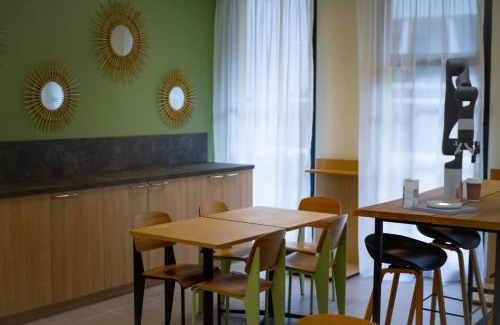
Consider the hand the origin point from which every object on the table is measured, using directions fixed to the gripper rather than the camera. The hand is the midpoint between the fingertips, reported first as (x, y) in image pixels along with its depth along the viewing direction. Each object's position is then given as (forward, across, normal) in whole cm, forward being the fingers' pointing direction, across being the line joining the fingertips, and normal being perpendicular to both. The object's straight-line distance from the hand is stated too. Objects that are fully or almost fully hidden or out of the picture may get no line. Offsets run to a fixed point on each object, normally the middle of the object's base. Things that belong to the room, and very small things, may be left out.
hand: (465, 162), depth 314 cm
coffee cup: (+22, +20, -38) cm, 48 cm away
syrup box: (+23, +20, +14) cm, 34 cm away
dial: (+21, +5, +7) cm, 22 cm away
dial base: (+23, +5, +9) cm, 25 cm away
